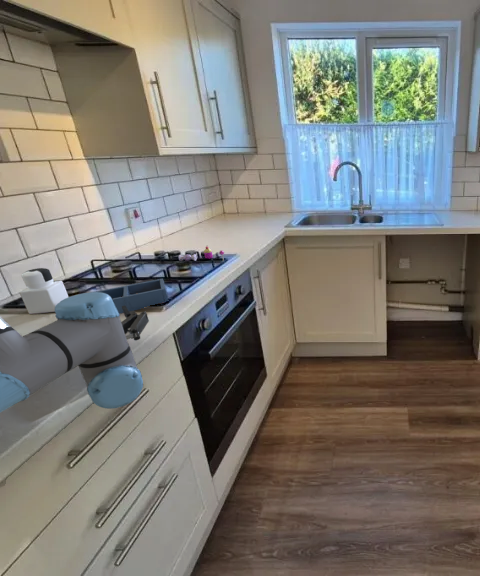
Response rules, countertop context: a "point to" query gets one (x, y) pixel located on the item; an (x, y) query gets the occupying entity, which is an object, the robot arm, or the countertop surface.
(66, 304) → the robot arm
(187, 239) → the countertop surface
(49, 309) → the medicine bottle
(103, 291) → the rack
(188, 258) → the set of multicoloured pieces
